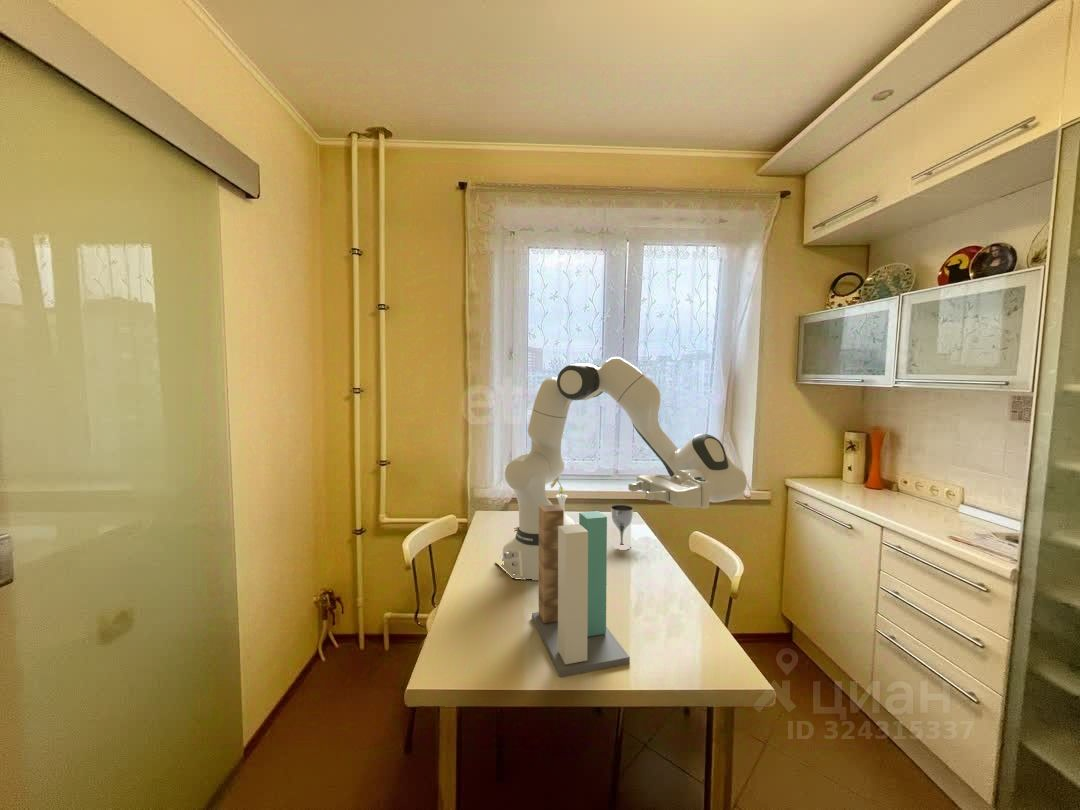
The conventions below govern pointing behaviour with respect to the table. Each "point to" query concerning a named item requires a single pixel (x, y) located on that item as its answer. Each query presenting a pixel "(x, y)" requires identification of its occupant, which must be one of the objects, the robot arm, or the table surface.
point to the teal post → (596, 570)
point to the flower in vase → (562, 503)
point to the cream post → (572, 593)
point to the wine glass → (621, 517)
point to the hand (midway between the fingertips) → (638, 491)
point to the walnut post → (549, 561)
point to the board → (599, 650)
